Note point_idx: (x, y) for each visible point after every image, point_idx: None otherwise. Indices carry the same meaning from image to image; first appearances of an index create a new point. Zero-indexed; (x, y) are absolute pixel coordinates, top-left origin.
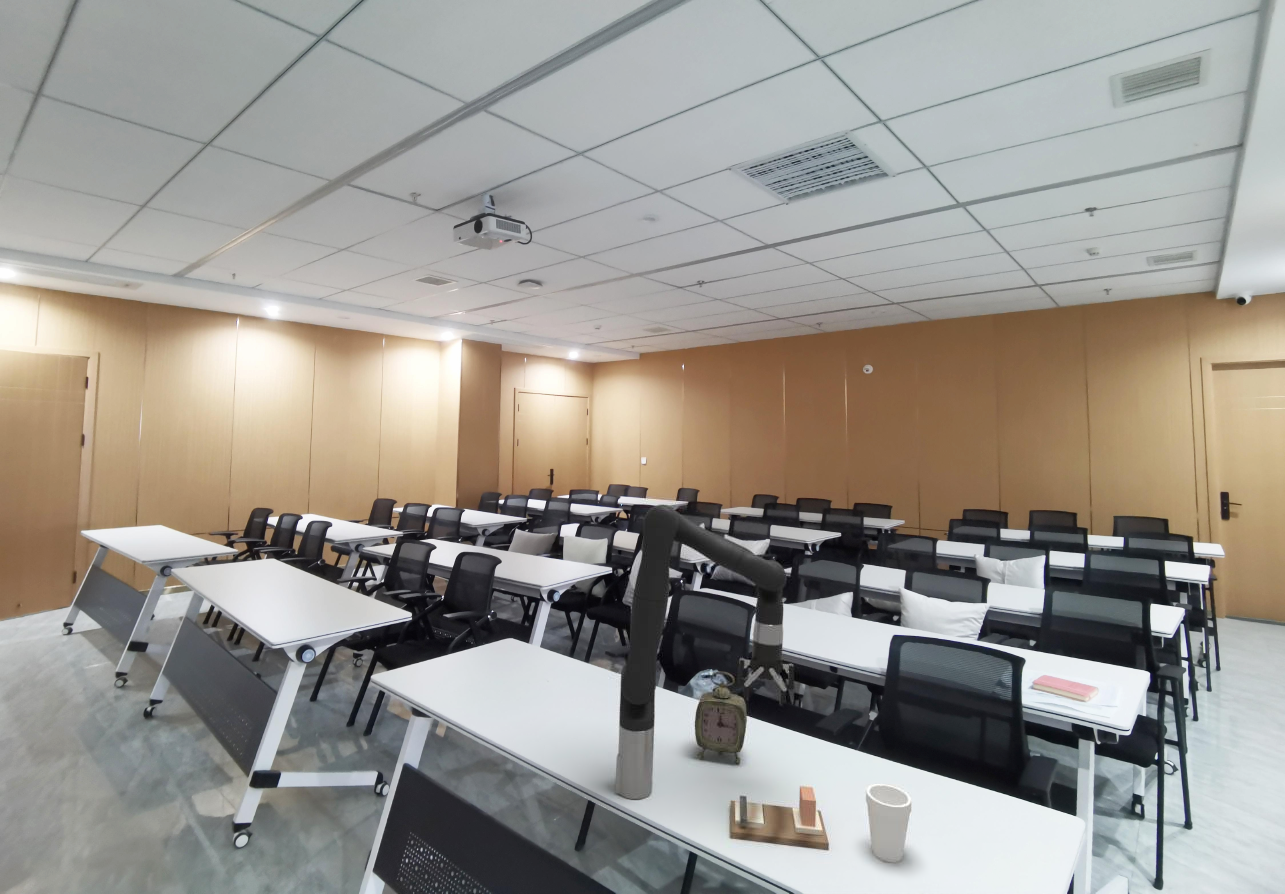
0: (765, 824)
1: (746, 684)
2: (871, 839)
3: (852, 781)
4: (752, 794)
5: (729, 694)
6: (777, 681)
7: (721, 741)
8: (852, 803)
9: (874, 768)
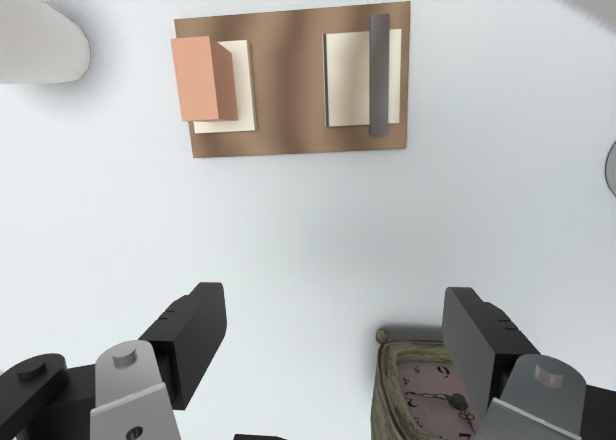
0: (321, 60)
1: (551, 367)
2: (73, 39)
3: (132, 311)
4: (349, 211)
5: None
6: (152, 402)
7: (435, 366)
8: (132, 226)
9: None
